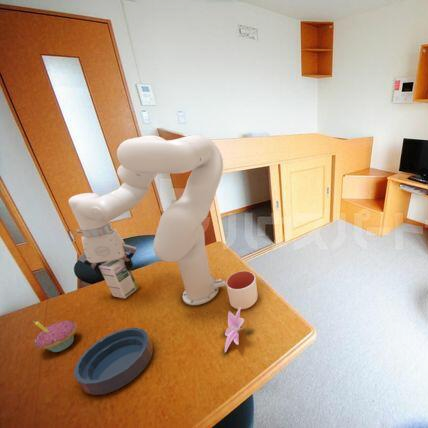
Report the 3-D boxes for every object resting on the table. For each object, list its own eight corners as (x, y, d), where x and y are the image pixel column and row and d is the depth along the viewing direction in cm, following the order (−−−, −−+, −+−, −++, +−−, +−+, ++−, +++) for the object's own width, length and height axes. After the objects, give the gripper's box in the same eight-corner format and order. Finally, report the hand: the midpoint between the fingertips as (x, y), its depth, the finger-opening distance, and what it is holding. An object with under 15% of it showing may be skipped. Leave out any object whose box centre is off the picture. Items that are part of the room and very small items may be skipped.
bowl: (158, 333, 76) (153, 321, 74) (146, 381, 63) (140, 368, 61) (97, 350, 71) (89, 338, 68) (71, 407, 58) (60, 394, 55)
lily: (234, 319, 83) (216, 308, 76) (264, 312, 80) (247, 300, 74) (226, 358, 74) (205, 349, 68) (259, 351, 71) (240, 341, 65)
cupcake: (47, 363, 67) (25, 334, 62) (38, 348, 71) (17, 319, 66) (86, 340, 73) (69, 312, 68) (76, 327, 77) (60, 300, 72)
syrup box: (125, 299, 89) (111, 268, 83) (112, 296, 90) (97, 265, 84) (138, 288, 94) (126, 258, 88) (126, 286, 95) (113, 256, 89)
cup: (262, 293, 92) (260, 273, 88) (250, 313, 84) (246, 292, 79) (239, 289, 94) (235, 268, 90) (224, 308, 86) (220, 287, 81)
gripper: (58, 239, 74) (81, 283, 81) (125, 230, 80) (141, 271, 87) (70, 228, 80) (90, 270, 87) (132, 220, 86) (146, 260, 94)
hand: (116, 271), depth 87 cm, fingers closed on syrup box, 7 cm apart
